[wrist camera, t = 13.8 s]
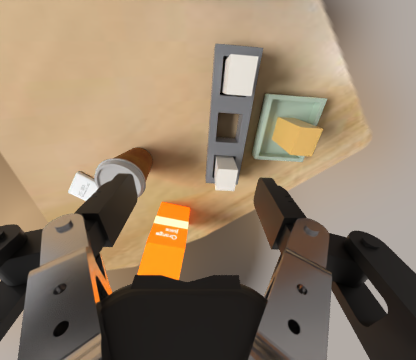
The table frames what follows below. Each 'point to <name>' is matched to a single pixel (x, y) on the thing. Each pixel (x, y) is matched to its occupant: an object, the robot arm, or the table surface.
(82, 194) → the external hard drive
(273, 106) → the tray
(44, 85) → the table surface
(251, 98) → the rack
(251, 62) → the fuse
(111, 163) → the disposable coffee cup
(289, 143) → the tan rectangular block
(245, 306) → the robot arm
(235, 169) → the fuse
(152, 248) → the orange juice
